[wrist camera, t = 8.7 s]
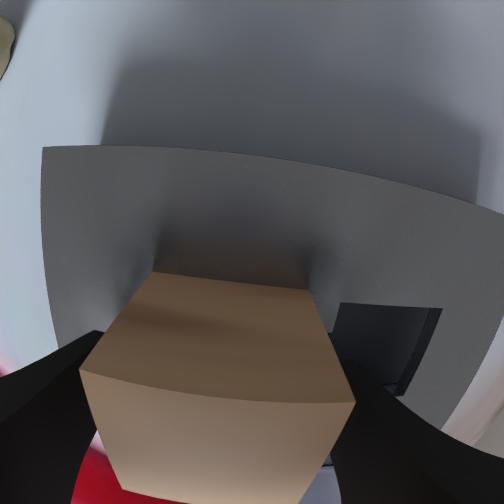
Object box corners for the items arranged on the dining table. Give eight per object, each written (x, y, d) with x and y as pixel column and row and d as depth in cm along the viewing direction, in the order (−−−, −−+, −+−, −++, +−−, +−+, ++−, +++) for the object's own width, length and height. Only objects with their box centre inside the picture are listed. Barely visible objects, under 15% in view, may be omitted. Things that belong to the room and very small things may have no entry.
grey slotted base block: (409, 392, 17) (435, 436, 13) (108, 371, 16) (81, 421, 12) (475, 206, 13) (530, 224, 9) (99, 147, 12) (42, 147, 8)
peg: (276, 365, 13) (294, 508, 6) (168, 353, 13) (122, 488, 6) (296, 264, 12) (356, 401, 5) (170, 249, 11) (78, 368, 4)
